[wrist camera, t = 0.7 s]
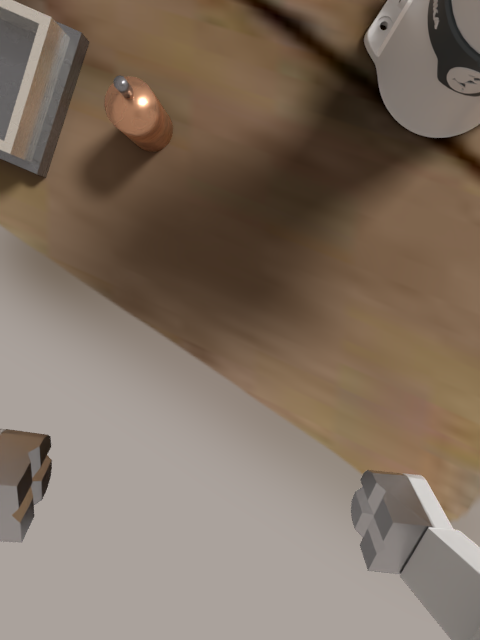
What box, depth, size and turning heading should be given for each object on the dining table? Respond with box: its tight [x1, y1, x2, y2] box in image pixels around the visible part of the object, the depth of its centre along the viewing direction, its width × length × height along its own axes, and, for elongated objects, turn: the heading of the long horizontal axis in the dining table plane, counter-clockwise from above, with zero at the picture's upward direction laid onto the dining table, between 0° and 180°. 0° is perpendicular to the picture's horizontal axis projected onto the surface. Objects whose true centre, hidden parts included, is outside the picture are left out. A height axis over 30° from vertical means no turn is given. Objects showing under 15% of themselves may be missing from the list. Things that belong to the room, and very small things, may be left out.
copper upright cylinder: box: [105, 76, 173, 152], centre depth 42 cm, size 5×5×10 cm
